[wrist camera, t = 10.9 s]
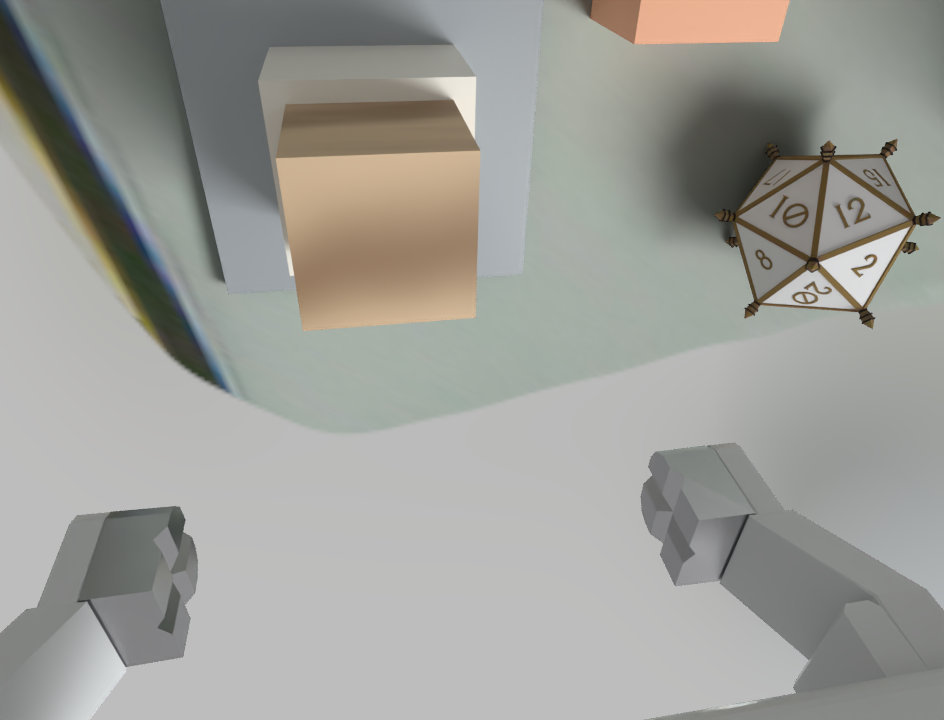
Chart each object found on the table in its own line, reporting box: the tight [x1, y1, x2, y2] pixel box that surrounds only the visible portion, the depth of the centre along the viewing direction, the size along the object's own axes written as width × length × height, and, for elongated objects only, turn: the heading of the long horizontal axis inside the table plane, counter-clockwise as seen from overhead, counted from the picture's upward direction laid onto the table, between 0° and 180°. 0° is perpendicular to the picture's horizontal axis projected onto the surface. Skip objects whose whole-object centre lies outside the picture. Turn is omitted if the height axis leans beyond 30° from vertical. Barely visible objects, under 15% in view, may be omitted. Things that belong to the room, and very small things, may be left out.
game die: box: [714, 139, 940, 329], centre depth 30 cm, size 9×8×10 cm
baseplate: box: [160, 0, 544, 294], centre depth 26 cm, size 14×14×6 cm
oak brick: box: [276, 100, 480, 331], centre depth 21 cm, size 6×6×5 cm
